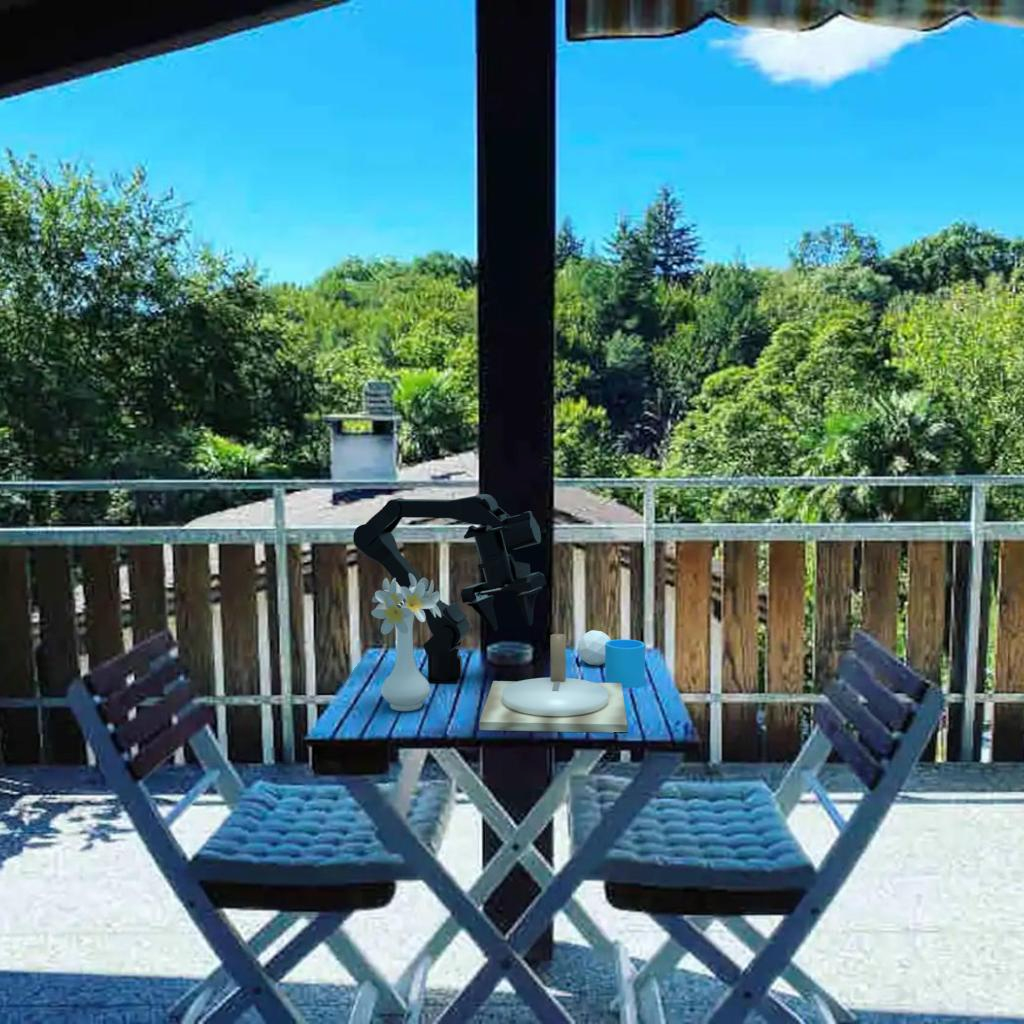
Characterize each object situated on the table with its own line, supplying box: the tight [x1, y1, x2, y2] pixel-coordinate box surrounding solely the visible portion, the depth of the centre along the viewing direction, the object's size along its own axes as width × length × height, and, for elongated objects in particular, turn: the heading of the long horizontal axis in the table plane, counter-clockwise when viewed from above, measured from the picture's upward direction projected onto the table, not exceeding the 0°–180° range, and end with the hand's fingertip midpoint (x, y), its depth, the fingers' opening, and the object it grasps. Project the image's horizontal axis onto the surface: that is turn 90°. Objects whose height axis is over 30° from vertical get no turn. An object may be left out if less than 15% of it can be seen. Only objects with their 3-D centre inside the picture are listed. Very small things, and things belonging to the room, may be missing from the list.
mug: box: [604, 638, 646, 689], centre depth 203 cm, size 12×8×8 cm
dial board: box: [478, 680, 628, 734], centre depth 184 cm, size 26×26×2 cm
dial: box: [502, 633, 608, 716], centre depth 183 cm, size 20×20×10 cm
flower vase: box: [370, 573, 441, 712], centre depth 183 cm, size 13×18×25 cm
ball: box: [577, 629, 612, 667], centre depth 215 cm, size 8×8×8 cm
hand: (512, 628), depth 199 cm, fingers open, 9 cm apart
